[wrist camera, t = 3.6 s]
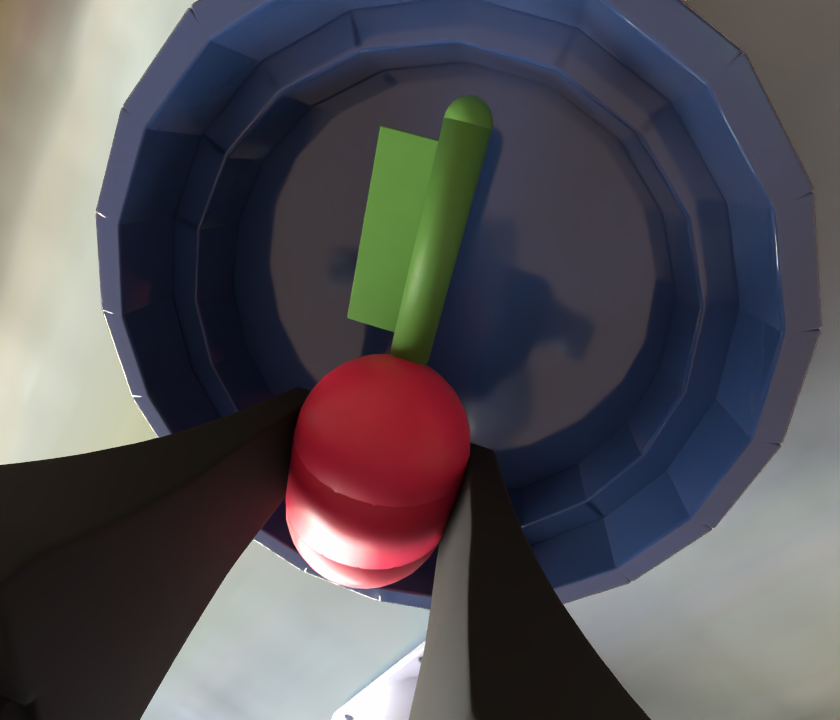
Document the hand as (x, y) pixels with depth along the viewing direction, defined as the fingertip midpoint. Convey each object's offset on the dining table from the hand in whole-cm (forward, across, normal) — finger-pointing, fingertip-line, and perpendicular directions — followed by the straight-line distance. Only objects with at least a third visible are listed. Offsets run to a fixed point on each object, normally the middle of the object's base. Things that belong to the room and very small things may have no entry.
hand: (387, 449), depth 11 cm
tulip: (+1, 0, -3) cm, 3 cm away
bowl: (+3, 0, -3) cm, 4 cm away
